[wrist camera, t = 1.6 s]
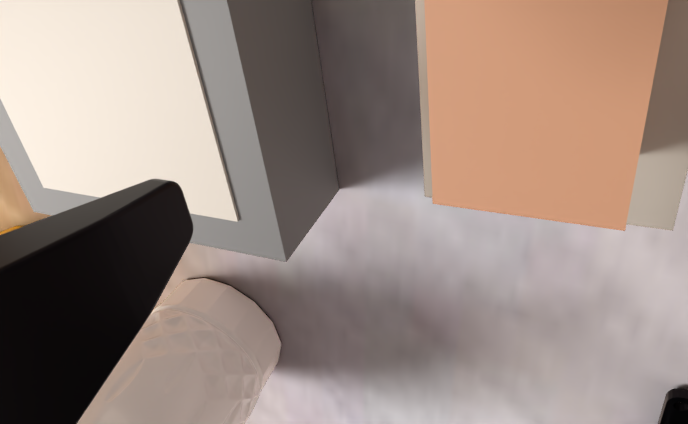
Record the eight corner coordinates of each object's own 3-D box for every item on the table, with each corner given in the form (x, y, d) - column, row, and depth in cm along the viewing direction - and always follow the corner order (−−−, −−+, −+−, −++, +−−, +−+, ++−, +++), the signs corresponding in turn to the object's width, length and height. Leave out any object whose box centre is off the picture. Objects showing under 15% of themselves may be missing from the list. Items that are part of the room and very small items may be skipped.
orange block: (684, -133, 11) (686, -98, 9) (632, 155, 14) (624, 230, 12) (464, -117, 12) (421, -85, 10) (465, 139, 16) (432, 203, 14)
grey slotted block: (770, -282, 12) (799, -285, 9) (673, 150, 18) (672, 230, 15) (457, -236, 15) (403, -228, 12) (460, 130, 20) (424, 196, 18)
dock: (257, -361, 15) (135, -387, 11) (339, 189, 24) (284, 263, 21) (-67, -277, 19) (-221, -279, 16) (106, 157, 28) (32, 213, 25)
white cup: (199, 243, 30) (46, 408, 22) (319, 346, 31) (210, 536, 23) (146, 304, 35) (9, 453, 28) (250, 390, 36) (144, 555, 29)
